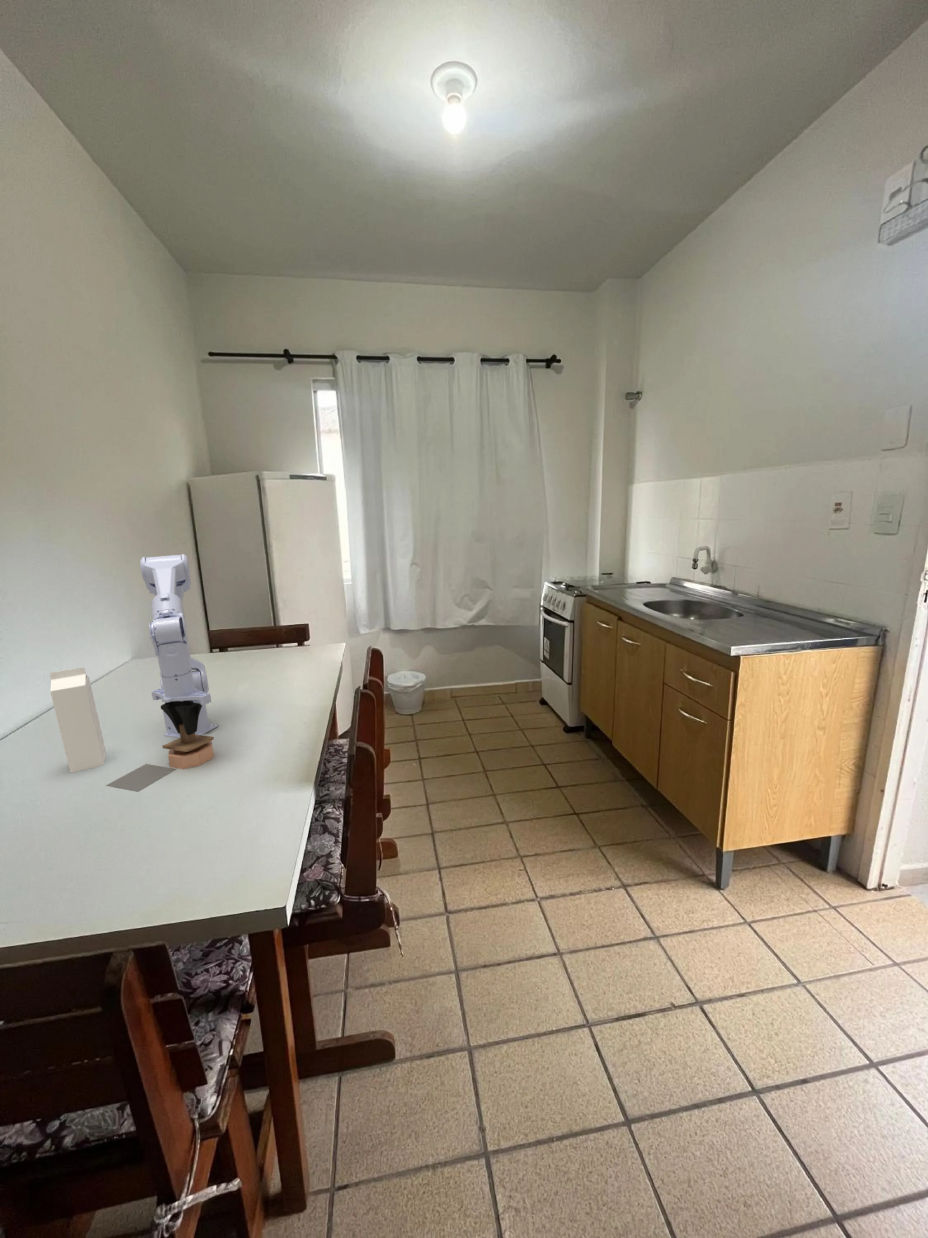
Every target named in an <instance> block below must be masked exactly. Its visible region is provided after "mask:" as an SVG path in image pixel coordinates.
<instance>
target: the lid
mask: <svg viewBox="0 0 928 1238" xmlns="http://www.w3.org/2000/svg"><path fill="white" fill-rule="evenodd" d="M179 729H180V737H181V738H176V739H174V740H172V741H170V742H168V743H164V744H163V745H162V749H164V750H169V749H171V750H177V751H184V752H188V751H191V750H193V749H195V748H197V747H199V746H201V745H203V744H205V743H207V742H210V741H212V742H213V741H214V739H215V737H214V736H210V735H204V734H203V735H196V734H195V733H193V734H191V735H187V733H186V731H185V728H184V724H183V723H182V724H180V725H179Z"/></svg>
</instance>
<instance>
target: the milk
mask: <svg viewBox="0 0 928 1238" xmlns="http://www.w3.org/2000/svg"><path fill="white" fill-rule="evenodd" d="M49 676H50V689H49V690H50V695H51V700H52V704H53V706H54V711H55V715H56V719H57V724H58V727H59V731H60V736H61V740H62V743H63V744H62V745H63V748H64V751H65V752H64V753H65V756H66V759H67V764H68V767H69V768H68V769H69V771H70V774H71V773H77V772H80V771H83V770H88V769H93V768H96V767H97V768H98V767H100V766H104V765H105V762H106V759H107V755H108V754H107V750H106V745H105V742H104V737H103V733H102V728H101V724H100V720H99V715H98V711H97V706H96V702H95V697H94V693H93V689H92V683H91V680H90V676H89V675H87V674H86V669H85V668H84V667H82V666H81V667H77V668H70V669H63V670H60V671H52V672H50V673H49Z"/></svg>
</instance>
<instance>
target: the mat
mask: <svg viewBox="0 0 928 1238" xmlns="http://www.w3.org/2000/svg"><path fill="white" fill-rule="evenodd" d="M177 770H178V768H172V767H168V766H161V765H155V764H150V763H149V764H148V763H145V764H143V765H141V766H139V767H137V768H136V769H134V770H132V771H130V772H129V773H126V774H124V775H122V776H121V777H119V778H117V779H115V780H113V781H112V782H110V783H108V784H106V785H105V787H111V788H116V789H121V790H126V791H130V792H131V791H132V792H136V793H139V792H140V791H143V790H144V789H145V788H147V787H149V786H150V785H153V784H154V783H156V782H158V781H159V780H161V779H163V778H164V777H166V776H168V775H170V774H171V773H174V772H175V771H177Z"/></svg>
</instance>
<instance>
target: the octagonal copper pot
mask: <svg viewBox="0 0 928 1238" xmlns="http://www.w3.org/2000/svg"><path fill="white" fill-rule="evenodd" d="M214 753H215V752H214V744H213V740H212V741H210V742H207V743H205V744H203V745H201V746H199V747H197V748H195V749H193V750H191V751H188V752H184V751H177V750H171V749H168V753H167V756H168V761H169V766H170V767H169V768H174V769H177V770H178V769H179V770H184V769H190V768H194V767H198V766H201V765H203V764H205V763H206V762H208V761H210V760H211V759H213V758H214V757H215V755H214Z"/></svg>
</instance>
